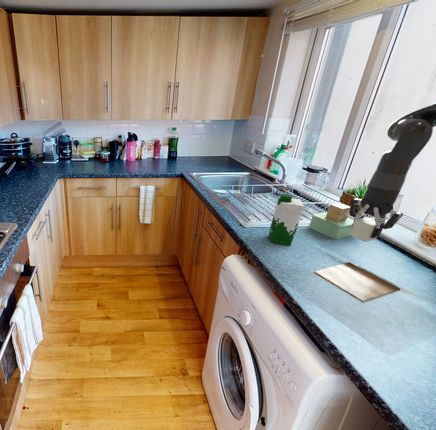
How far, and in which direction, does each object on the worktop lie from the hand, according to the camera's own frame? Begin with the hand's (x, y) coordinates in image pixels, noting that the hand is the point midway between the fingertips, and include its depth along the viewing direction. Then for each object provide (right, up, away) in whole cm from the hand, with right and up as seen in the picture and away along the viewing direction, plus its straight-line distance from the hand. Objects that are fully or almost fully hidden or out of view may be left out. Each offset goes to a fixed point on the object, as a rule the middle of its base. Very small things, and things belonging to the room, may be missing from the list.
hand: (363, 233), depth 96 cm
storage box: (+11, -3, +30) cm, 32 cm away
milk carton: (-14, -5, +25) cm, 29 cm away
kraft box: (+12, +5, +27) cm, 30 cm away
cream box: (0, -1, +1) cm, 1 cm away
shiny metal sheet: (-2, -16, +1) cm, 16 cm away
